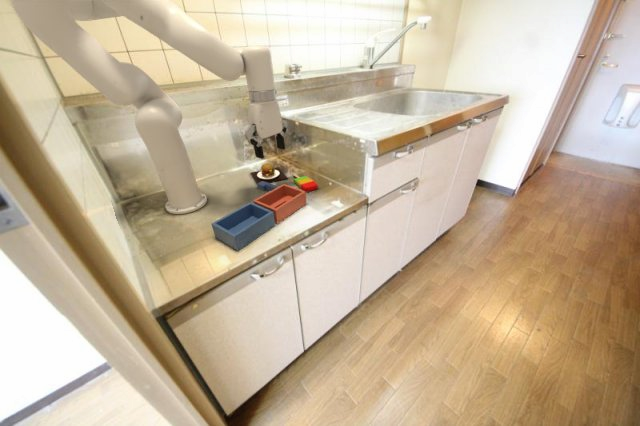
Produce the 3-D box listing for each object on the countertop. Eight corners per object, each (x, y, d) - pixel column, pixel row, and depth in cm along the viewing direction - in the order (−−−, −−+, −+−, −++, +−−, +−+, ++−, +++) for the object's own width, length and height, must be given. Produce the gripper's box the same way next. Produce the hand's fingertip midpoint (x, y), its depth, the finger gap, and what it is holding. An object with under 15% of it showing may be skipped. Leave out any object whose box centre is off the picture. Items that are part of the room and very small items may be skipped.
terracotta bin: (255, 213, 79) (252, 200, 77) (285, 195, 88) (283, 183, 86) (277, 223, 75) (275, 210, 72) (306, 204, 84) (305, 191, 81)
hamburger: (278, 168, 109) (277, 155, 106) (287, 179, 100) (286, 166, 97) (250, 173, 105) (248, 161, 102) (257, 185, 95) (255, 172, 92)
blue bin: (215, 237, 70) (210, 223, 67) (253, 214, 79) (250, 201, 76) (237, 251, 65) (234, 236, 62) (275, 225, 74) (273, 211, 71)
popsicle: (305, 192, 90) (305, 188, 89) (287, 177, 101) (287, 173, 100) (319, 188, 92) (318, 184, 91) (300, 174, 103) (299, 170, 102)
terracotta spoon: (288, 199, 85) (288, 193, 84) (295, 202, 84) (295, 196, 83) (267, 212, 79) (266, 206, 77) (274, 216, 77) (273, 209, 76)
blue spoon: (257, 187, 94) (256, 182, 93) (263, 184, 96) (262, 179, 95) (276, 195, 89) (276, 189, 88) (282, 191, 91) (282, 186, 90)
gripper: (274, 91, 82) (280, 143, 91) (230, 100, 70) (242, 159, 80) (292, 92, 78) (296, 147, 87) (248, 102, 66) (259, 164, 76)
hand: (271, 153), depth 83 cm, fingers open, 9 cm apart
